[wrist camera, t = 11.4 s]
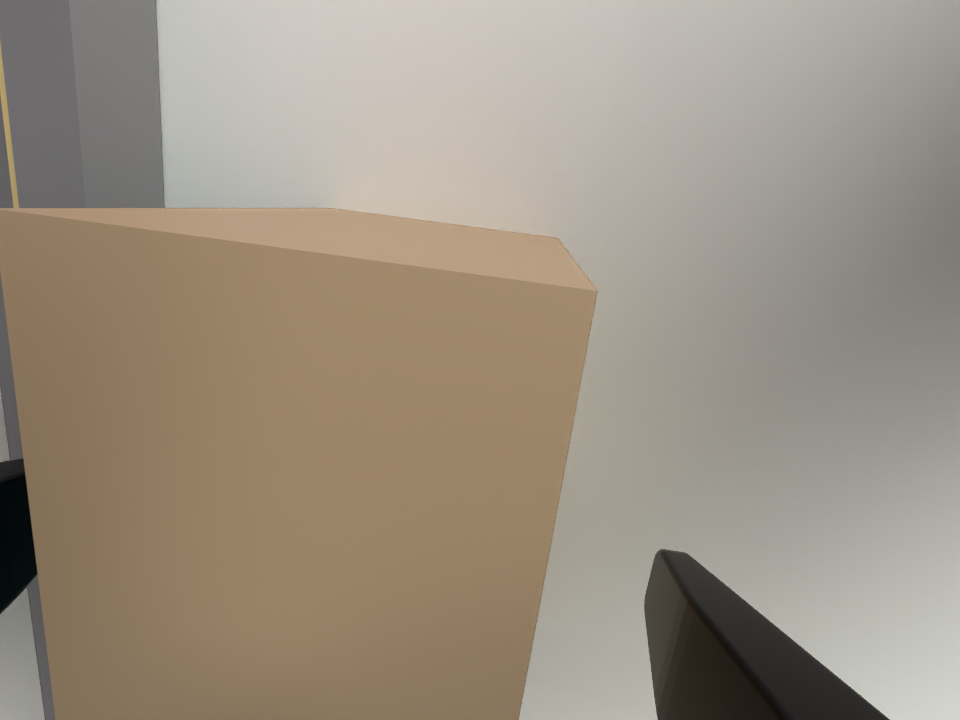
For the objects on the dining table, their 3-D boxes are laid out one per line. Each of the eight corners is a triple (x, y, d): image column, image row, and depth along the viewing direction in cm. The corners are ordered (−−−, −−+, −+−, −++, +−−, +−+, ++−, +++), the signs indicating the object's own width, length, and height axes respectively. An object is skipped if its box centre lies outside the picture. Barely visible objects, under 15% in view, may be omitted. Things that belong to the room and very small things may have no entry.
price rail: (-54, -233, 9) (-208, -348, 7) (146, -218, 9) (42, -332, 7) (65, 744, 15) (-1, 821, 13) (187, 768, 15) (137, 849, 13)
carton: (558, 237, 10) (596, 290, 4) (496, 620, 13) (455, 1061, 6) (316, 205, 11) (-47, 203, 4) (301, 586, 13) (63, 974, 7)
